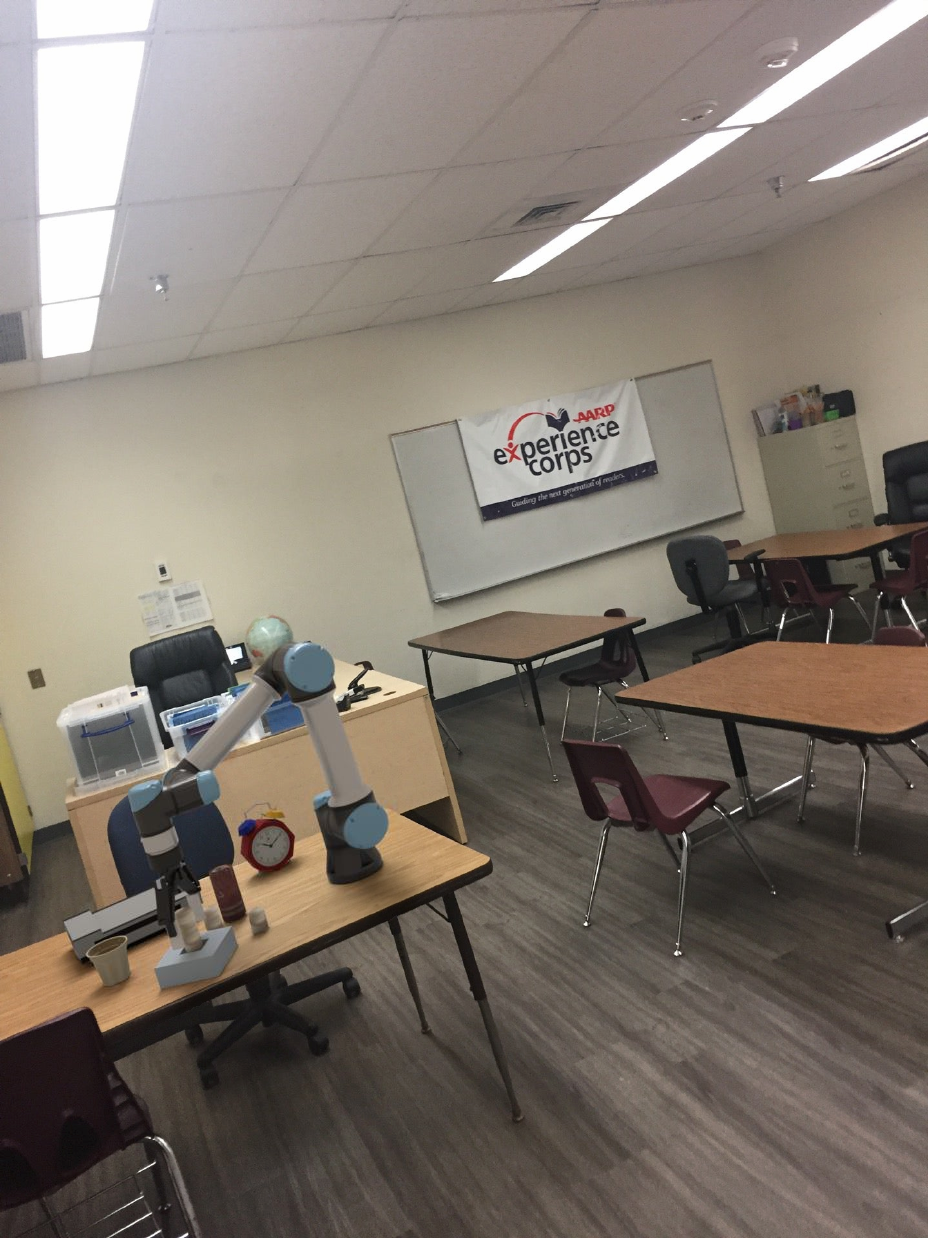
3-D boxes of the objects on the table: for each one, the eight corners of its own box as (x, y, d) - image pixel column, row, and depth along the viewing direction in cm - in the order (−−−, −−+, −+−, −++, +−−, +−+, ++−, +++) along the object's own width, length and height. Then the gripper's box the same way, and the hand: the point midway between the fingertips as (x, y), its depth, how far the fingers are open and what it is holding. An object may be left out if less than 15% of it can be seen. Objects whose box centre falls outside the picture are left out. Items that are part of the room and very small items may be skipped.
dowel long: (211, 960, 216) (194, 905, 214) (205, 969, 212) (187, 913, 210) (195, 963, 216) (177, 908, 214) (189, 972, 212) (171, 916, 210)
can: (241, 921, 234) (225, 870, 232) (219, 925, 235) (203, 874, 233) (251, 909, 239) (236, 860, 238) (229, 913, 241) (214, 864, 239)
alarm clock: (255, 881, 259) (234, 815, 257) (244, 875, 267) (224, 811, 264) (302, 859, 267) (282, 795, 264) (291, 854, 274) (272, 791, 272)
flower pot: (104, 975, 223) (93, 942, 222) (142, 964, 224) (131, 931, 222) (91, 995, 214) (80, 961, 213) (131, 983, 214) (120, 949, 213)
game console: (207, 915, 244) (198, 887, 243) (83, 972, 229) (73, 942, 228) (188, 897, 262) (179, 870, 261) (72, 948, 247) (62, 920, 246)
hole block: (237, 945, 220) (231, 925, 219) (219, 976, 206) (212, 955, 205) (182, 957, 221) (176, 938, 221) (160, 989, 207) (154, 968, 207)
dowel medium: (228, 933, 228) (219, 903, 227) (223, 941, 224) (214, 911, 223) (213, 937, 229) (204, 907, 228) (208, 944, 225) (198, 914, 224)
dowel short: (271, 924, 227) (265, 905, 226) (264, 932, 223) (259, 913, 223) (256, 926, 228) (251, 907, 227) (249, 934, 224) (244, 915, 223)
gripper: (167, 831, 223) (193, 912, 225) (124, 875, 198) (153, 965, 201) (196, 824, 222) (222, 906, 225) (156, 867, 197) (186, 958, 200)
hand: (190, 934), depth 213 cm, fingers open, 13 cm apart
